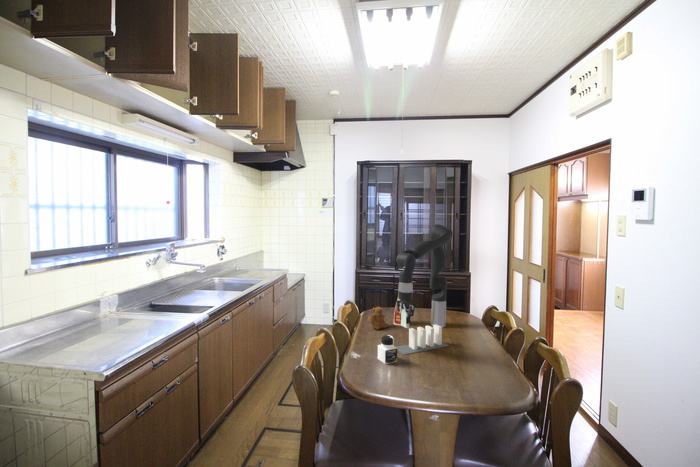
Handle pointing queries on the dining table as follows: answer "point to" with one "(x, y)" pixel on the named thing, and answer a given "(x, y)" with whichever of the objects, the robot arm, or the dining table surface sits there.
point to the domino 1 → (404, 319)
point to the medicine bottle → (387, 350)
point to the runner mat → (418, 348)
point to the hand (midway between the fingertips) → (405, 321)
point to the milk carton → (396, 316)
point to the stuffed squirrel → (377, 319)
